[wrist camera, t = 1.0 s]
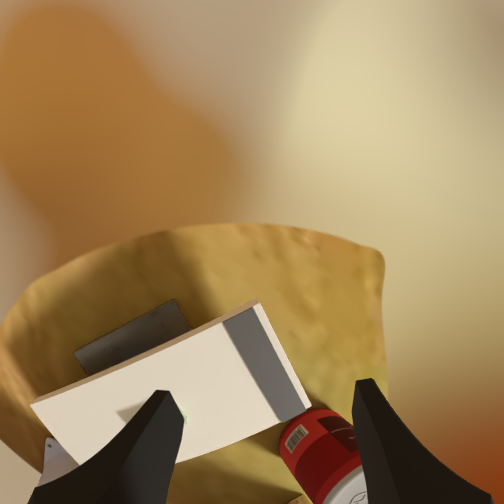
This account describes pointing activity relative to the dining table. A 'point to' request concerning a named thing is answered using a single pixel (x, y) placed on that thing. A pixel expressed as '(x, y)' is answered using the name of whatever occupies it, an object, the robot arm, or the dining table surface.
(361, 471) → the canned food
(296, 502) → the candy box
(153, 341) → the pivot stand
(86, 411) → the leveling board
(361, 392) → the robot arm
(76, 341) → the dining table surface
